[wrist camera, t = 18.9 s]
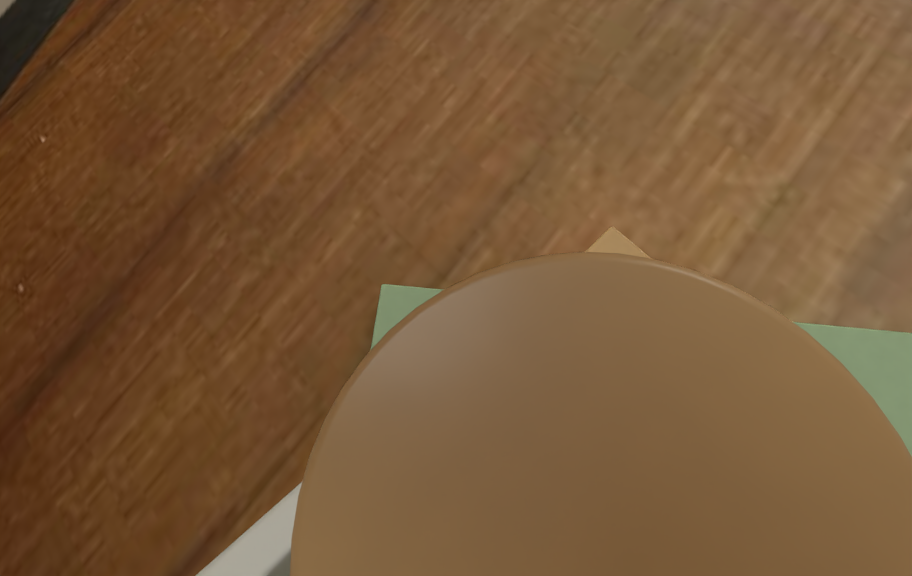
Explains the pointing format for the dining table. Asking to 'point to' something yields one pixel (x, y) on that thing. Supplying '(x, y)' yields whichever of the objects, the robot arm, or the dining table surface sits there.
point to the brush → (602, 436)
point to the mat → (860, 350)
